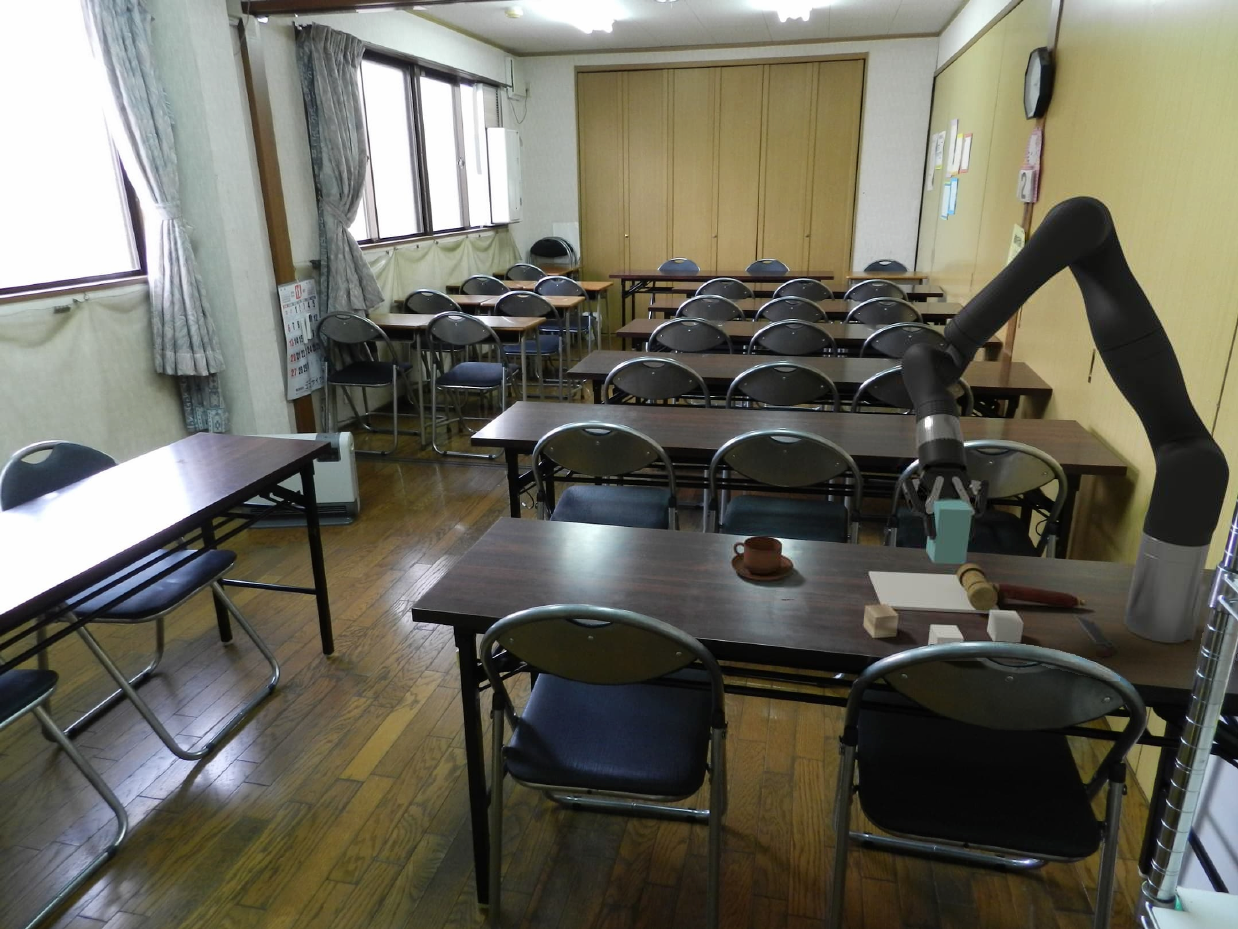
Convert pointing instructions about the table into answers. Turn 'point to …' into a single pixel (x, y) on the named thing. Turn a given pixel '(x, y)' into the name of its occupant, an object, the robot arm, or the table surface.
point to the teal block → (950, 532)
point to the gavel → (1007, 591)
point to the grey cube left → (1005, 626)
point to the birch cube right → (880, 620)
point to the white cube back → (944, 634)
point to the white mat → (922, 592)
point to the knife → (1097, 637)
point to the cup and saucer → (761, 559)
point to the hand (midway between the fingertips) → (951, 538)
